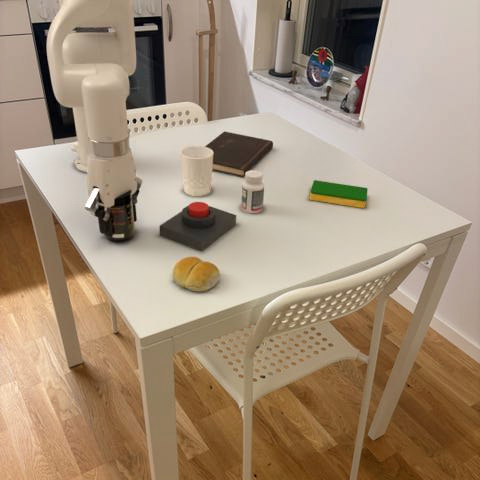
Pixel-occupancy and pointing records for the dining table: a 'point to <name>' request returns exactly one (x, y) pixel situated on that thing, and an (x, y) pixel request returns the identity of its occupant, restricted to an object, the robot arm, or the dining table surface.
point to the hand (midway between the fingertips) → (118, 226)
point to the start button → (198, 209)
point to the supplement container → (122, 218)
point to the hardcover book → (237, 152)
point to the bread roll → (195, 274)
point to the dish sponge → (339, 194)
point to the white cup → (197, 170)
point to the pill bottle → (252, 192)
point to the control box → (197, 227)
